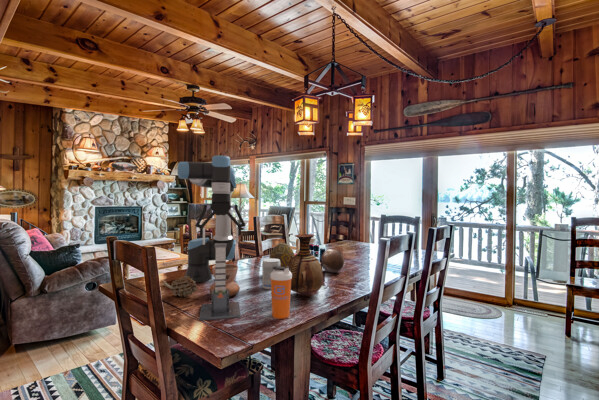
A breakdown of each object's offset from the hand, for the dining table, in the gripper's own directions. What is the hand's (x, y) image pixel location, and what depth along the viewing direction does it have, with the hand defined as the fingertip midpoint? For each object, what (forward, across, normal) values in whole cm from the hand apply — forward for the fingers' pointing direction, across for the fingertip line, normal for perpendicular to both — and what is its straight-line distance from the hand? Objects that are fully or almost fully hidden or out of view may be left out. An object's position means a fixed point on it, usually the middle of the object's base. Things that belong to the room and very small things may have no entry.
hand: (220, 243), depth 137 cm
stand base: (+29, 0, 0) cm, 29 cm away
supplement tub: (+29, +26, +31) cm, 50 cm away
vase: (+29, +40, +14) cm, 51 cm away
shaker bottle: (+29, +24, -10) cm, 39 cm away
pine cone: (+29, -20, +26) cm, 44 cm away
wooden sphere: (+29, +69, +56) cm, 94 cm away
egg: (+29, +36, +54) cm, 71 cm away
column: (+20, 0, 0) cm, 20 cm away
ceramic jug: (+29, +2, +23) cm, 37 cm away
